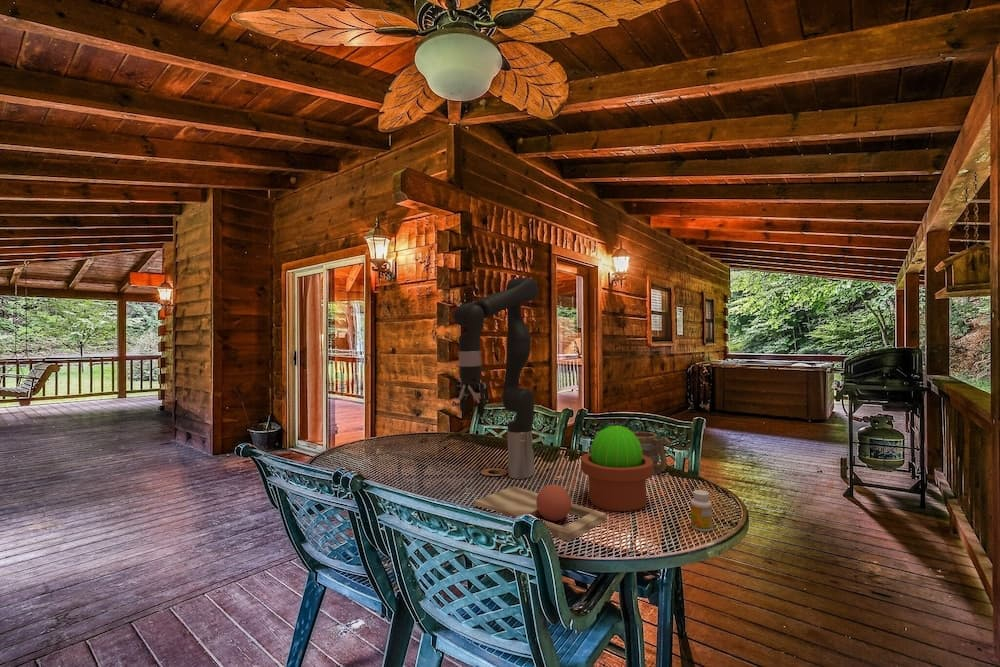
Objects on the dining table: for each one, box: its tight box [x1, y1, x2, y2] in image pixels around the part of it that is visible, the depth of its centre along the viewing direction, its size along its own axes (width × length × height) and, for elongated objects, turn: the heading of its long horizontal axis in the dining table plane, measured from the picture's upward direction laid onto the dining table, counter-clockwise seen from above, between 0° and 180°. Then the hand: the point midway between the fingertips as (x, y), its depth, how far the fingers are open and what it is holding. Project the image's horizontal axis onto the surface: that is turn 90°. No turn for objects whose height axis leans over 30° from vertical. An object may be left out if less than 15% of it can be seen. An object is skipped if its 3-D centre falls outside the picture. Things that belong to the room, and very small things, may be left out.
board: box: [474, 485, 607, 542], centre depth 139 cm, size 18×36×2 cm, turn 46°
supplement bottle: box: [690, 489, 713, 532], centre depth 127 cm, size 5×5×10 cm
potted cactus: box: [580, 423, 654, 512], centre depth 147 cm, size 22×22×25 cm
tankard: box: [632, 431, 672, 476], centre depth 176 cm, size 20×13×15 cm, turn 23°
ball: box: [536, 483, 572, 522], centre depth 134 cm, size 10×10×10 cm
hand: (471, 412), depth 156 cm, fingers open, 8 cm apart
